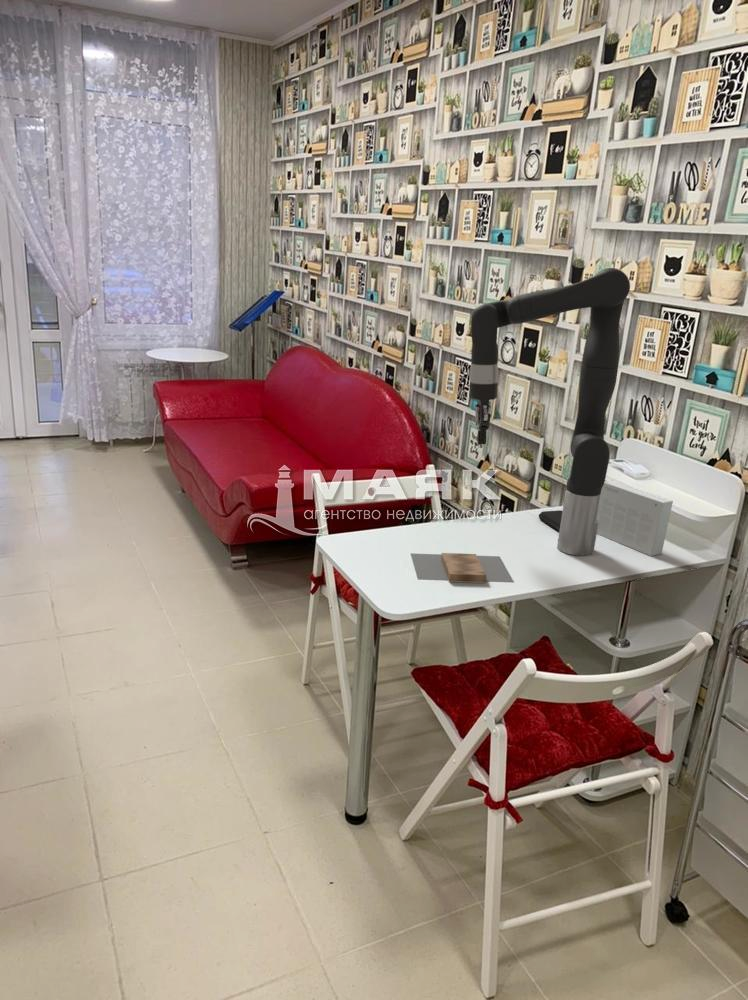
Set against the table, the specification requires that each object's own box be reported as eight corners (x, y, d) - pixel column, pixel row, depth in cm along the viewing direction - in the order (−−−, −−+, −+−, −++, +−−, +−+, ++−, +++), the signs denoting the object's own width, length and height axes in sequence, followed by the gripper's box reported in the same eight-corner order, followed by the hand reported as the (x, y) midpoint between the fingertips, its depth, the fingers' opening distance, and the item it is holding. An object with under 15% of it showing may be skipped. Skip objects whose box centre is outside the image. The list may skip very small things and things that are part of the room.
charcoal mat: (499, 558, 201) (499, 556, 201) (513, 584, 186) (514, 582, 186) (410, 555, 199) (410, 553, 199) (417, 581, 184) (417, 579, 184)
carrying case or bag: (592, 534, 224) (564, 517, 237) (594, 524, 223) (566, 508, 236) (561, 536, 220) (535, 519, 233) (563, 527, 219) (536, 510, 232)
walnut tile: (475, 554, 196) (486, 575, 183) (475, 561, 196) (485, 583, 184) (441, 552, 195) (449, 573, 183) (440, 560, 196) (448, 582, 183)
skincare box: (663, 553, 212) (674, 500, 207) (651, 557, 209) (662, 503, 204) (603, 529, 228) (612, 479, 223) (591, 531, 225) (600, 481, 220)
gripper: (501, 384, 196) (499, 449, 201) (493, 377, 208) (491, 438, 213) (473, 384, 195) (471, 449, 201) (466, 377, 208) (464, 438, 213)
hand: (481, 443), depth 207 cm, fingers closed
